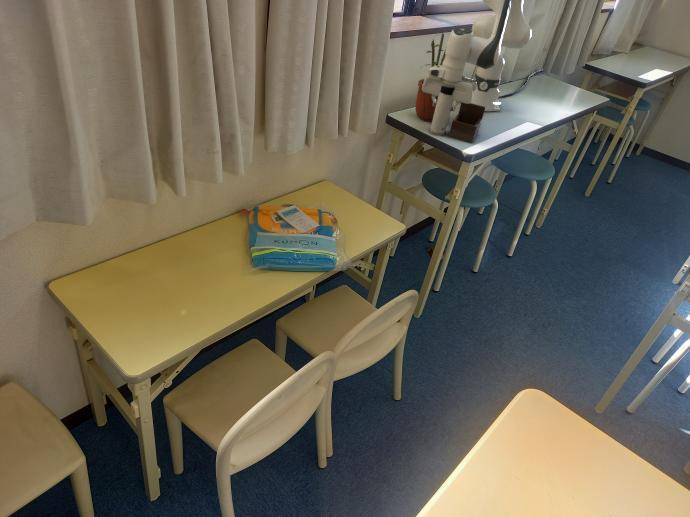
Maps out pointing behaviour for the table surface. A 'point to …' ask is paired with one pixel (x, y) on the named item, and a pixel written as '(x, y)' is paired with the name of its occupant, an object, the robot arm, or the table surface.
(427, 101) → the potted plant
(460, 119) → the brown hinged box
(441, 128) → the travel mug
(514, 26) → the robot arm
